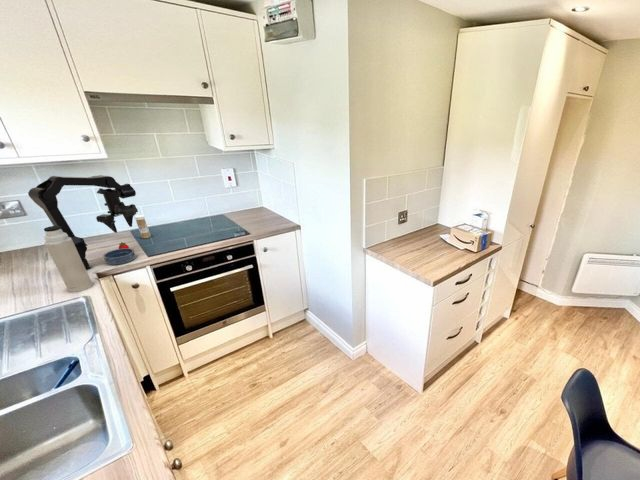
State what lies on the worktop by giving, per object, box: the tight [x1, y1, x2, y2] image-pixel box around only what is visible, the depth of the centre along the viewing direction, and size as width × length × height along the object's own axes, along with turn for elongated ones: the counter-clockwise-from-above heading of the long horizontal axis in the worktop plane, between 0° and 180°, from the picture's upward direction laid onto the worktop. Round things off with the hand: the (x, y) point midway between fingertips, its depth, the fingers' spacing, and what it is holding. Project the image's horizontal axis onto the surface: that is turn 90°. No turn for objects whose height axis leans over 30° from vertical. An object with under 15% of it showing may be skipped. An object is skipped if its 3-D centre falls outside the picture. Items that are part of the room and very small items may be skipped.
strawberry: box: [118, 241, 130, 249], centre depth 173 cm, size 4×4×6 cm
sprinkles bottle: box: [134, 214, 151, 239], centre depth 190 cm, size 5×5×14 cm
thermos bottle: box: [43, 225, 93, 293], centre depth 135 cm, size 8×8×28 cm
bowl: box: [102, 247, 137, 266], centre depth 165 cm, size 12×12×4 cm
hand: (123, 229), depth 170 cm, fingers open, 9 cm apart
